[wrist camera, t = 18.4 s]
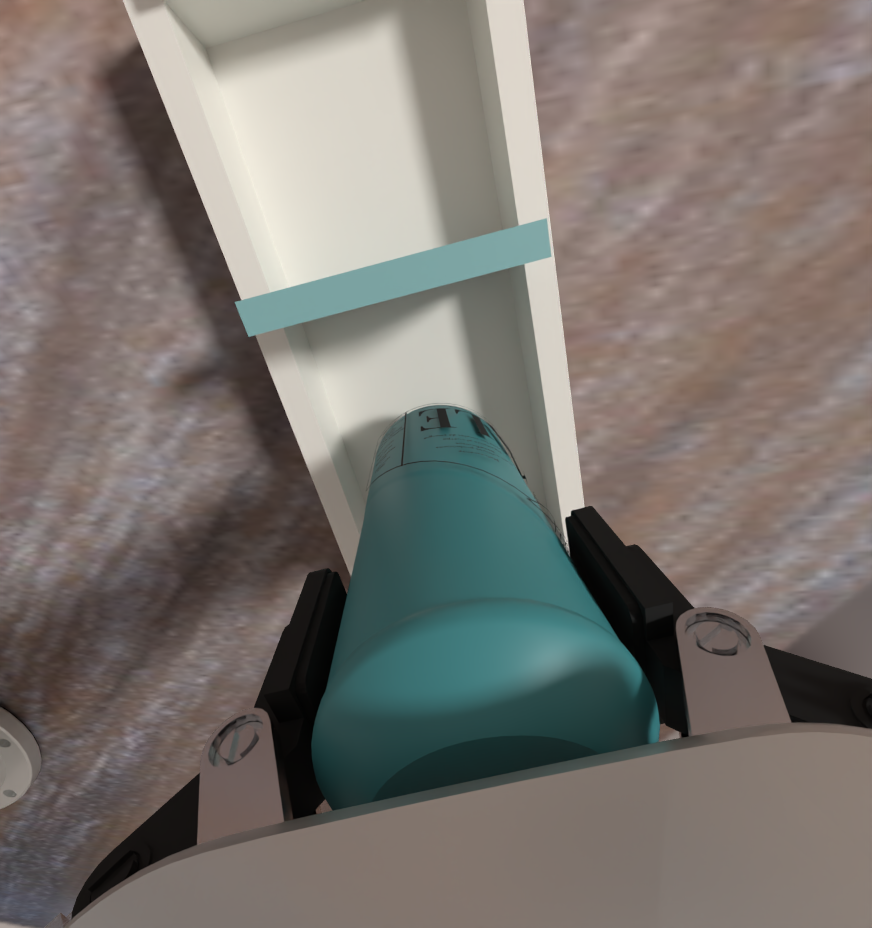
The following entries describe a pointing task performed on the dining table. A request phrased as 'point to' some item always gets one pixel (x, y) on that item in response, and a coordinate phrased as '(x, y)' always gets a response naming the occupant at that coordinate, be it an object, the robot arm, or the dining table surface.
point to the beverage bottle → (466, 629)
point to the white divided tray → (377, 216)
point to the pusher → (396, 278)
